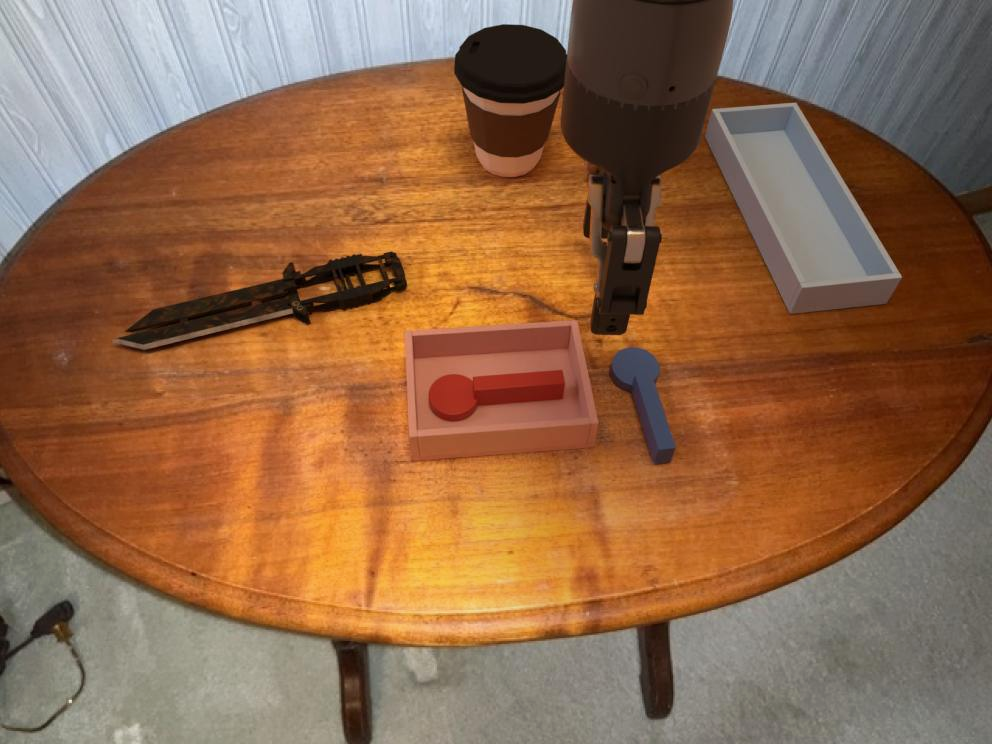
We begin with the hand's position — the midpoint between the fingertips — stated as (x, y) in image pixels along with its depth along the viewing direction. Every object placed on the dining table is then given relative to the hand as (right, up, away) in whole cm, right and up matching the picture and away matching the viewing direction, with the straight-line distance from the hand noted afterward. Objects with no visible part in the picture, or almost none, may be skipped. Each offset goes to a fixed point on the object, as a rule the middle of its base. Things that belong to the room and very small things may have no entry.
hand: (602, 280), depth 54 cm
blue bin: (+22, +10, +27) cm, 36 cm away
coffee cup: (-6, +16, +32) cm, 36 cm away
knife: (-27, -1, +19) cm, 33 cm away
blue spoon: (+5, -9, +13) cm, 17 cm away
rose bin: (-7, -8, +13) cm, 17 cm away
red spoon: (-7, -8, +13) cm, 17 cm away
